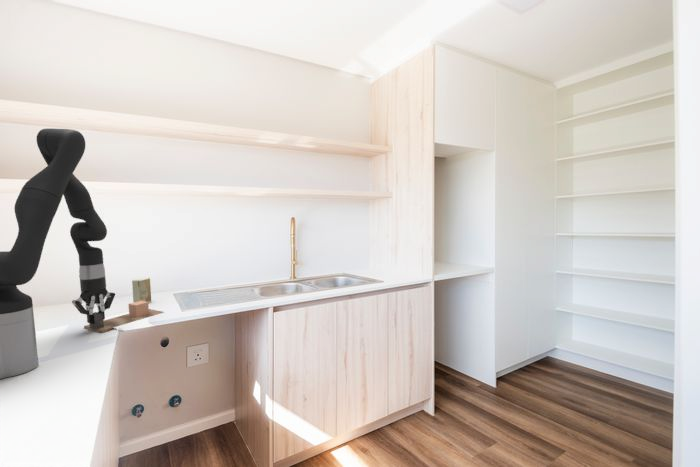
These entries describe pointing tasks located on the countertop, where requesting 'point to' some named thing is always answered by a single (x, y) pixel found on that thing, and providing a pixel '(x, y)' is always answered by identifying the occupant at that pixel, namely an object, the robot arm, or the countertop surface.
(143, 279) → the skincare box
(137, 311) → the terracotta block
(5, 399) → the countertop surface
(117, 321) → the walnut strip
